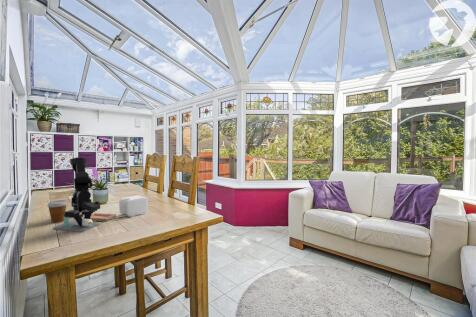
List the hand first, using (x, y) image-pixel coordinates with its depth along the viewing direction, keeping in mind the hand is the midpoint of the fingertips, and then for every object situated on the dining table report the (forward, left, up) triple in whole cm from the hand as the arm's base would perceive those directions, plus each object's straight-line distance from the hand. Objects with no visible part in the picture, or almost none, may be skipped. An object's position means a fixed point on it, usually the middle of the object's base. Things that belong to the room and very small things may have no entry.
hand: (83, 225), depth 131 cm
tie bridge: (-9, 0, 0) cm, 9 cm away
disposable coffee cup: (-25, +6, -2) cm, 26 cm away
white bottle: (0, -1, 0) cm, 1 cm away
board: (-5, 0, -2) cm, 5 cm away
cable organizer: (+11, +29, -2) cm, 31 cm away
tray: (-4, +16, -2) cm, 17 cm away
